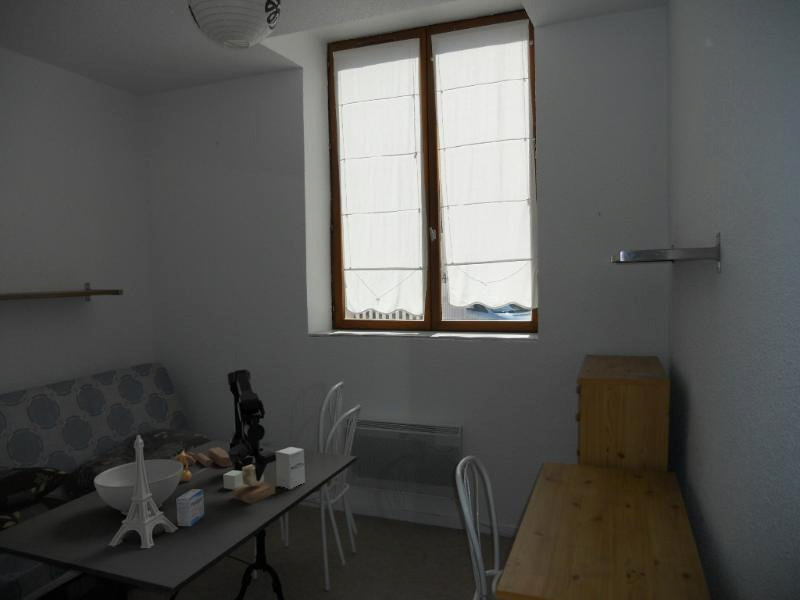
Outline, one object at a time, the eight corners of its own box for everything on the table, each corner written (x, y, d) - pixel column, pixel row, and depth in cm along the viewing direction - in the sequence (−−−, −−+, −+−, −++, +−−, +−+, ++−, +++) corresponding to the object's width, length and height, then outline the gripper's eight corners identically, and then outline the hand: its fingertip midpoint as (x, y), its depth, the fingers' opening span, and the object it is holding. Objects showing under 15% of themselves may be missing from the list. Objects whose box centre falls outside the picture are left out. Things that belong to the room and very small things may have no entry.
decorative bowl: (201, 495, 197) (199, 461, 196) (147, 528, 171) (145, 489, 171) (136, 490, 204) (135, 457, 204) (76, 522, 178) (73, 484, 178)
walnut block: (233, 498, 194) (232, 488, 193) (256, 489, 201) (256, 479, 201) (251, 505, 187) (251, 494, 187) (275, 495, 195) (274, 485, 195)
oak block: (242, 483, 194) (242, 467, 194) (254, 479, 198) (254, 463, 198) (252, 486, 191) (251, 470, 191) (264, 481, 195) (263, 465, 195)
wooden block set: (217, 444, 242) (233, 453, 228) (218, 457, 243) (234, 467, 228) (176, 452, 232) (190, 462, 218) (177, 466, 232) (191, 477, 218)
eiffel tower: (107, 546, 161) (101, 441, 160) (140, 526, 174) (134, 429, 173) (148, 549, 157) (142, 442, 156) (178, 529, 170) (172, 429, 169)
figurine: (198, 478, 215) (197, 447, 214) (194, 484, 209) (193, 451, 208) (175, 480, 214) (174, 448, 213) (171, 486, 208) (169, 453, 207)
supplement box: (290, 490, 198) (288, 454, 198) (276, 486, 203) (274, 451, 203) (306, 483, 204) (304, 448, 204) (292, 480, 209) (290, 446, 208)
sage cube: (223, 488, 203) (223, 474, 203) (233, 483, 208) (232, 470, 208) (235, 489, 201) (234, 476, 201) (244, 485, 206) (243, 471, 206)
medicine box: (190, 527, 171) (189, 498, 171) (177, 526, 172) (175, 498, 172) (204, 516, 179) (203, 489, 178) (191, 515, 180) (190, 488, 179)
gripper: (214, 436, 193) (216, 481, 194) (249, 444, 182) (251, 492, 182) (241, 428, 202) (243, 472, 202) (276, 435, 190) (278, 481, 191)
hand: (253, 479), depth 194 cm, fingers closed on oak block, 5 cm apart
